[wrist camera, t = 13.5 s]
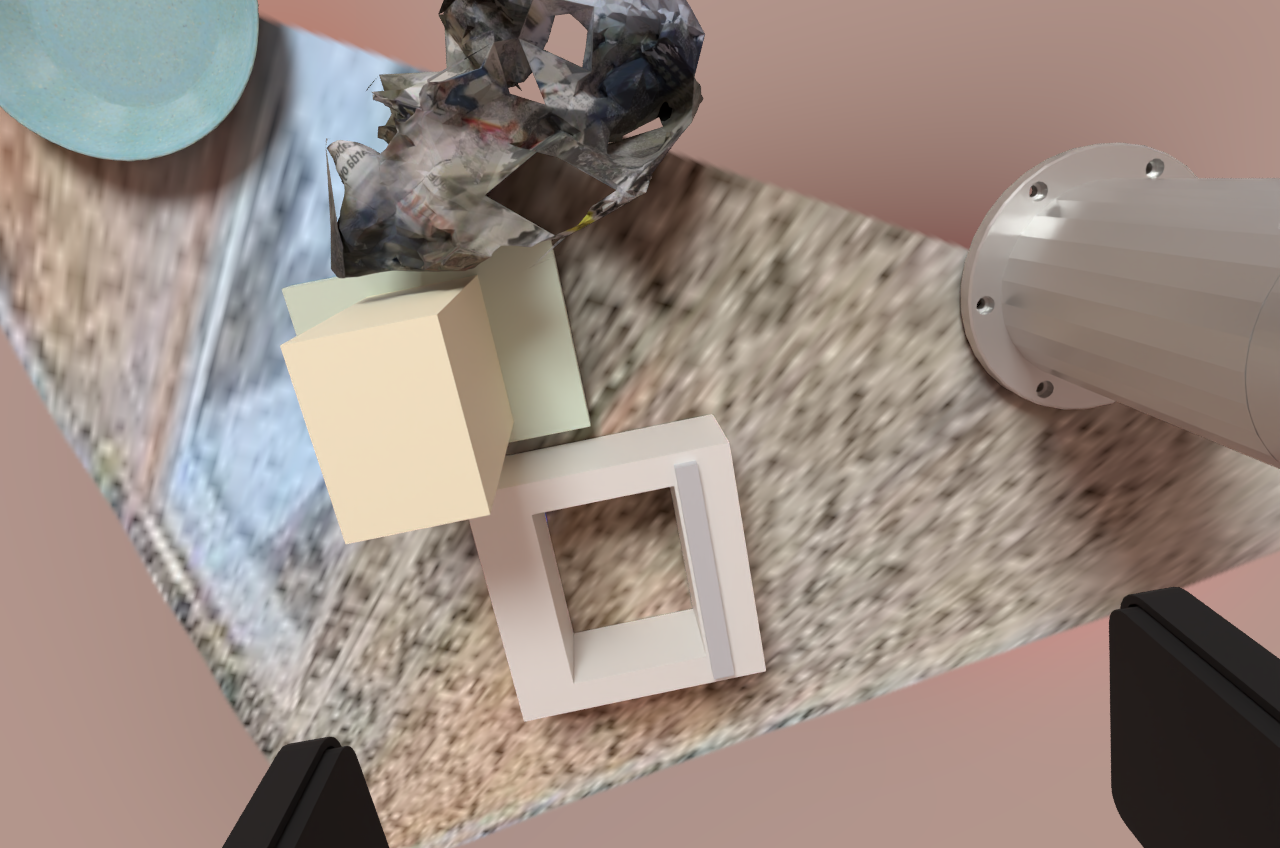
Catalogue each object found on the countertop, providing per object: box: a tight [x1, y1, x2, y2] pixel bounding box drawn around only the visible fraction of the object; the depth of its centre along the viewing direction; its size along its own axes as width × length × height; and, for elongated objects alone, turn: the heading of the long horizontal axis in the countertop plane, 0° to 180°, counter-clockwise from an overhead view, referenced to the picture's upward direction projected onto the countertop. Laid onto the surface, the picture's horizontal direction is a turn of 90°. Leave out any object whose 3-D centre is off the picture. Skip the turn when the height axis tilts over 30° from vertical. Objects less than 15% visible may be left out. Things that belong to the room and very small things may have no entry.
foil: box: [325, 0, 705, 278], centre depth 32 cm, size 12×11×15 cm
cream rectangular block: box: [280, 275, 514, 544], centre depth 31 cm, size 5×7×11 cm
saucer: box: [0, 0, 259, 161], centre depth 32 cm, size 12×12×2 cm
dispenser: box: [469, 414, 766, 721], centre depth 39 cm, size 12×12×5 cm
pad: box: [282, 240, 590, 443], centre depth 37 cm, size 12×9×1 cm
